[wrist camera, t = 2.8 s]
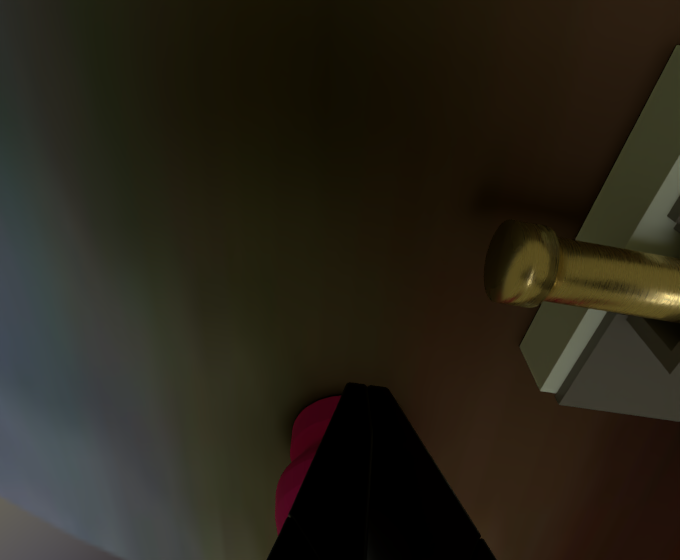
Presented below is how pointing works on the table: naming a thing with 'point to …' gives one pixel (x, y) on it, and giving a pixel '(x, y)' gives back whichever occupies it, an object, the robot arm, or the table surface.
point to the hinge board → (634, 234)
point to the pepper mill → (302, 453)
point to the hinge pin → (578, 274)
